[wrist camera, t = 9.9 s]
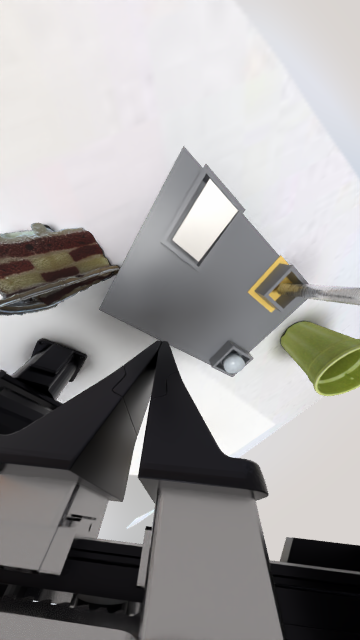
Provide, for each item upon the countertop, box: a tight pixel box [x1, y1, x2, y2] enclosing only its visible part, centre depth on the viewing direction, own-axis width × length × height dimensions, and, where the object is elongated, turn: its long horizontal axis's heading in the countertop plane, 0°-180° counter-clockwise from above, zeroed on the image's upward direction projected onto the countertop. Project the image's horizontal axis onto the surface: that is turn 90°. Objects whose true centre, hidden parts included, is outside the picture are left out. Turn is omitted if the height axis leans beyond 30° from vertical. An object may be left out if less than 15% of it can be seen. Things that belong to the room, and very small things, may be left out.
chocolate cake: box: [0, 223, 120, 316], centre depth 15 cm, size 10×7×12 cm
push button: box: [222, 353, 245, 374], centre depth 21 cm, size 3×3×1 cm
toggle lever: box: [277, 283, 360, 305], centre depth 13 cm, size 3×3×11 cm
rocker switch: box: [172, 179, 238, 262], centre depth 13 cm, size 5×3×1 cm, turn 144°
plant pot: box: [281, 321, 360, 396], centre depth 22 cm, size 9×9×9 cm
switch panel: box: [99, 146, 309, 377], centre depth 18 cm, size 17×22×4 cm
